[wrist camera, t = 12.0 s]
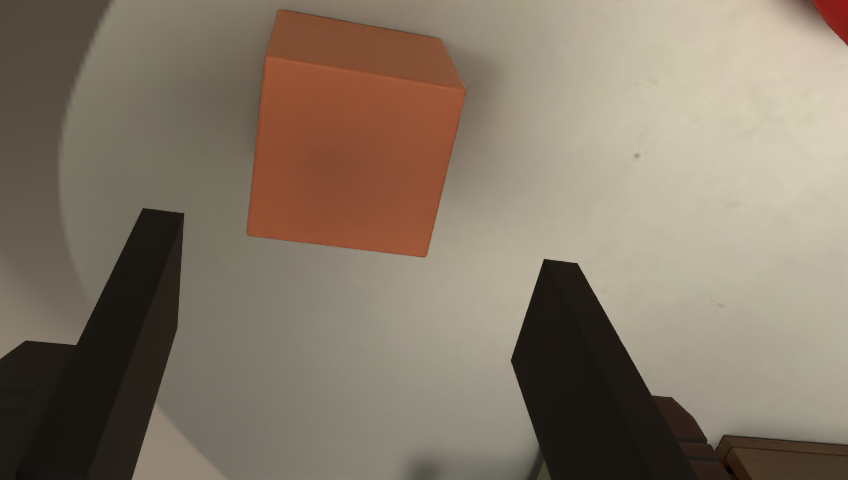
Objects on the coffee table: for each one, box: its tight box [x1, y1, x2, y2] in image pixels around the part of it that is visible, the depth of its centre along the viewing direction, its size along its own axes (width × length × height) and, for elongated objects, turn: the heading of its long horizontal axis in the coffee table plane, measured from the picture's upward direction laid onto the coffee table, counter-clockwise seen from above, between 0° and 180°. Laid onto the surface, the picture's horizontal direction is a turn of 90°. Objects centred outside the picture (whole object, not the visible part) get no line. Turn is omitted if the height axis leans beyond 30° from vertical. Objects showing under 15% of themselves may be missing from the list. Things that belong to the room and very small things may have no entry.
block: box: [246, 10, 466, 257], centre depth 23 cm, size 6×6×6 cm
